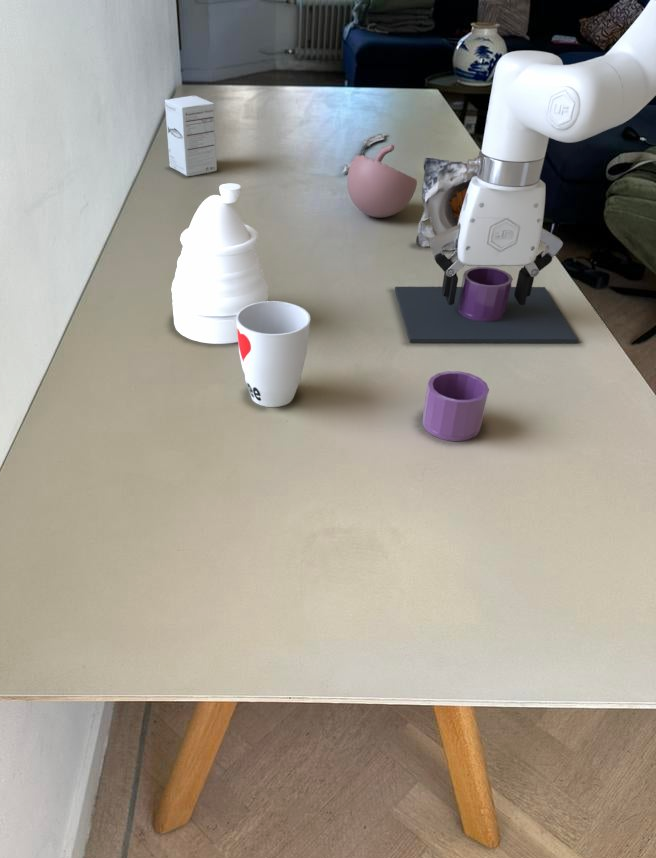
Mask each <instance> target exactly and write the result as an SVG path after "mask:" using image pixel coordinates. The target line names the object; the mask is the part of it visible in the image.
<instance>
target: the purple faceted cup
mask: <svg viewBox="0 0 656 858" xmlns="http://www.w3.org/2000/svg"><path fill="white" fill-rule="evenodd" d="M489 393H490V388H489V385H488V383H486V381H484V379H482V378H481V377H479V376H477V375H475V374H472V373H470V372H465V371H458V370H456V371H455V370H445V371H442V372H438V373H436V374H434V375H432V376H431V377H430V378H429V379H428V382H427V386H426V392H425V400H424V405H423V412H422V426H423V428H424V429H425V430H426V432H427V433H428V434H430V435H432V436H433V437H436V438H437V439H440V440H444V441H449V442H462V441H463V442H464V441H468V440H471V439H473V438H475V437H476V436H477V435H478V434H479V433H480V432H481V428H482V425H483V419H484V416H485V410H486V405H487V401H488V397H489Z"/></svg>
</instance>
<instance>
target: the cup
mask: <svg viewBox="0 0 656 858" xmlns="http://www.w3.org/2000/svg"><path fill="white" fill-rule="evenodd" d="M236 321H237V333H238V342H237V343H238V344H237V345H238V353H239V359H240V363H241V367H242V373H243V379H244V382H245V384H246V387H247V389H248V392H249V395H250V397H251V400H252V401H253V402H254V403H255V404H257V405H260V406H261V407H266V408H279V407H280V408H281V407H283V406H287V405H289V404H290V403H291V402H292V401H293V399H294V397H295V395H296V393H297V390H298V387H299V385H300V382H301V379H302V376H303V371H304V367H305V362H306V357H307V352H308V344H309V334H310V327H311V326H310V325H311V324H310V323H311V315H310V313H309V312H308V310H307V309H305V308H304V307H301V305H300V306H299V305H297V304H295V303H290V302H286V301H279V300H278V301H277V300H268V301H265V302H258V303H254V304H251V305H248V306H246V307H244V308H242V309H241V310H240V311H239V312H238V313H237V316H236Z"/></svg>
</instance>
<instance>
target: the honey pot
mask: <svg viewBox="0 0 656 858" xmlns="http://www.w3.org/2000/svg"><path fill="white" fill-rule="evenodd" d="M218 186H219V193H220V195H218V194H212V195H209V196H208V197H206V198H205V199H204V200H203V201H202V202H201V204H200V205H199V206H198V208H197V210H196V211H195V213H194V215H193V217H192V219H191V222H190V224H189V227H186V229H184V230H183V231H182V233H181V234H180V238H179V240H180V243H181V245H182V248H181V253H180V256H178V258H177V262H176V266H177V267H176V268H175V274H174V278H173V279H172V284H171V290H170V291H171V294H172V295H171V298H172V302H171V303H172V304H171V305H172V313H173V314H172V315H173V325H174V327H175V330H176V331H177V332H178V333H179V334H180V335H182V336H183V337H185V338H187V339H188V340H192V341H194V342H195V341H196V342H199V343H205V344H212V345H213V344H214V345H215V344H216V345H218V344H219V345H226V344H234V343H238V333H237V321H236V316H237V313H238V312H239V311H240V310H241V309H242V308H244V307H246V306H248V305H251V304H254V303H258V302H265V301H269V285H268V280H267V279H266V277H265V275H264V270H263V269H264V268H263V267H262V266H261V258H260V257H259V256H258V253H257V251H256V248H255V247H256V246H257V245H258V243H259V240H260V235H259V233H258V232H257V230H256V229H255V228H253V227H252V226H250V225H248V224H245V223H244V221H243V219H242V217H241V215H240V214H239V212H238V211H237V209H236V208H235V207H234V205H233V204H234V203H235V202H237V200H238V199H239V197H240V194H241V187H242V186H241V185H240V184H238V183H234V182H229V183H222V184H220V185H218Z"/></svg>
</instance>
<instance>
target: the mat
mask: <svg viewBox="0 0 656 858" xmlns="http://www.w3.org/2000/svg"><path fill="white" fill-rule="evenodd" d="M515 289H516V286H511V289H510V294H509V299H508V303H507V308H506V311H505V315H504V317H503V318H501V319H499V320H496V321H490V322H483V321H475V320H471V319H468V318H466V317H464V316H462V315H461V314H460V313H459V311H458V303H459V297H460V291H461V286H457V289H456V295H455V301H454V304H452V305H448V303H447V300H446V298H445V296H442V286H394V292H395V296H396V299H397V303H398V307H399V310H400V313H401V317H402V320H403V323H404V327H405V330H406V334H407V337H408V341H409V343H411V344H415V343H416V344H417V343H418V344H423V343H424V344H431V343H432V344H578V342H579V338H578V337H577V335H576V333H575V332H574V330H573V328H571V326H570V324H569V323H568V321H567V319H566V318H565V316H564V315H563V313H562V311H561V310H560V308H559V307H558V305H557V303H556V302H555V300H554V299H553V298H552V295H550V293H549V291H548V290H547V288H546V287H545V286H532V289H531V293H530V296H527V297H526V302H525V305H520V304H519V303H518V302H517V300H516V298H515V296H514V293H515Z"/></svg>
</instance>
